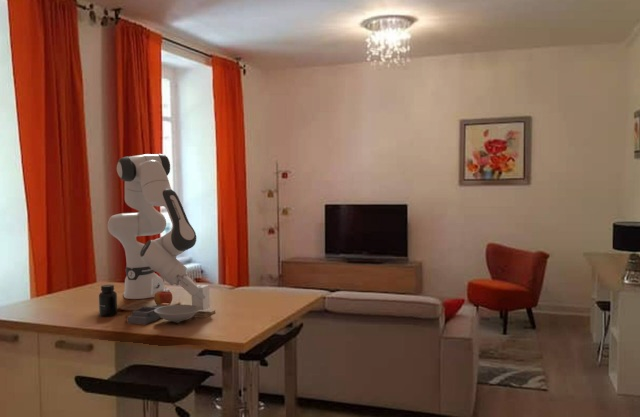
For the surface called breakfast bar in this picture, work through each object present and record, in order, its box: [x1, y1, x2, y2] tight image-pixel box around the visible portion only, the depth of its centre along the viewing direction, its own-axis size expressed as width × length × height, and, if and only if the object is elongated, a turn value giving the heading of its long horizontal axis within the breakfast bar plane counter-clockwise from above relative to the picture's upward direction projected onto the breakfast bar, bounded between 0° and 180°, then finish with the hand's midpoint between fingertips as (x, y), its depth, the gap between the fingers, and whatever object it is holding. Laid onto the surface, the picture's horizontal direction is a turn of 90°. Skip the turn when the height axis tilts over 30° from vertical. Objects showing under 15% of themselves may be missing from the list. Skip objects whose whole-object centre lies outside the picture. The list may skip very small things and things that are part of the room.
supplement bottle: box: [98, 284, 118, 318], centre depth 219 cm, size 7×7×12 cm
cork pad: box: [191, 309, 216, 319], centre depth 216 cm, size 8×8×1 cm
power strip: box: [127, 303, 171, 325], centre depth 217 cm, size 26×8×4 cm, turn 162°
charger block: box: [191, 284, 211, 310], centre depth 216 cm, size 5×5×9 cm
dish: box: [154, 304, 200, 324], centre depth 205 cm, size 18×14×5 cm
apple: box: [153, 287, 173, 306], centre depth 229 cm, size 7×7×8 cm
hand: (202, 296), depth 216 cm, fingers closed on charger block, 7 cm apart
